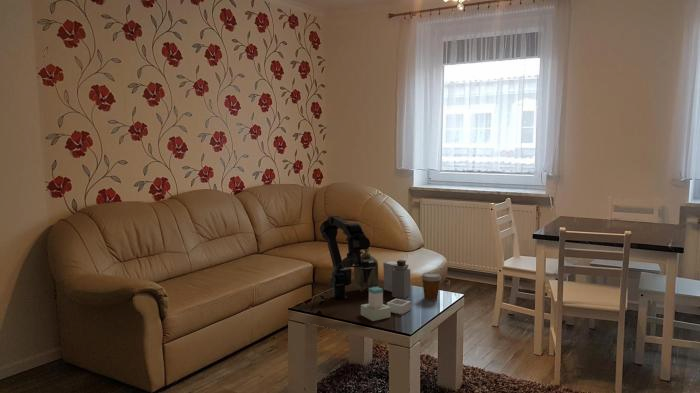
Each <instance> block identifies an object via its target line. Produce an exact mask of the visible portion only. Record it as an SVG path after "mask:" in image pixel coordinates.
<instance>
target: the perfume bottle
mask: <svg viewBox="0 0 700 393" xmlns="http://www.w3.org/2000/svg"><path fill="white" fill-rule="evenodd" d="M406 261H407V260H404V259H398V260H397V261H396V262H397V264H396V265H394V267H395V269H393V270H392V292H391V297H393V298H397V299H402V300H405V299H406V298H408V297H409V296H411V268H409V264H406V263H407V262H406Z"/></svg>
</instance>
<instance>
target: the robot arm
mask: <svg viewBox="0 0 700 393" xmlns="http://www.w3.org/2000/svg"><path fill="white" fill-rule="evenodd" d="M339 229H340V230H342V233H343V235H345V236H346V239H345V242H347V249H348V252H347V253H346V257H344V258H343V259H342V256H341V252H340V247H339V245H338V241H337V236H338V230H339ZM319 231H320V233H321V234H320V235H321V236H322V239H324V240H325V241H326V243H327V244H326V245H327V247H328V251H329V255H330V258H331V264H332V267H333V269H332V272H331V278H330V280H329V282H328V283H329V286H330V287H332V288H333V294H331V297H332V298H333V299H334V300H336V301H337V300H346V299H349V298H348V296H347V295H346V286H350V285H351V284H352V268H354V267H363V268H364V269H362V271H363V273H364V282H365V284H367V281H368V278H369V275H370V273H371V271H372V269H374V267H376V263H375V262H374V261H365V262H363V260H362V259H361V256H362V254H363V253H364V252H363V250H364V251H365V250H366V249H367V250H368V248H370V246H371V241H370V239H369V238H368V237H367V236H366V234H365V231H364V230H363V229H362V226H361V225H360V223H359V222H354V221H353V222H350V221H347V219H346V220H345V219H344V218H341V216H338V215H332V216H329V217H328V218H327V219H326V220H324V221H323V222H322V223H320V226H319ZM354 264H355V265H354Z"/></svg>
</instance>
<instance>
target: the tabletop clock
mask: <svg viewBox="0 0 700 393" xmlns="http://www.w3.org/2000/svg"><path fill="white" fill-rule="evenodd" d="M369 248H370V247H369ZM369 248H368V249H366V250H364V252H363V254H361V259H362V260H363V262H365V261H374V262H375V263H376V267H374V269H372V271H371V273H370V275H369V278H368V281H367V284H365V282H364V273H363V271H362V269H364V268H363V267H353V280H354V282H355V283H356V285H358V286H360V287H361V288H360V289H359V290H360V292H361V293H363V292H364V288H366V289H369V288H372V287H378V284H379V263H378V260H377V259H376V257H374V256H372V255H371V253H370V252H369ZM353 265H355V264H353Z"/></svg>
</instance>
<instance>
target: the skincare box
mask: <svg viewBox="0 0 700 393" xmlns="http://www.w3.org/2000/svg"><path fill="white" fill-rule="evenodd" d="M396 264H397V261H394V260H393V261H392V260H390V261H384V262H383V291H388V292H391V293H392V270H393V269H395V267H394V265H396Z"/></svg>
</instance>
